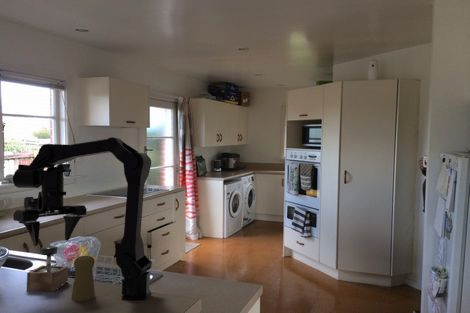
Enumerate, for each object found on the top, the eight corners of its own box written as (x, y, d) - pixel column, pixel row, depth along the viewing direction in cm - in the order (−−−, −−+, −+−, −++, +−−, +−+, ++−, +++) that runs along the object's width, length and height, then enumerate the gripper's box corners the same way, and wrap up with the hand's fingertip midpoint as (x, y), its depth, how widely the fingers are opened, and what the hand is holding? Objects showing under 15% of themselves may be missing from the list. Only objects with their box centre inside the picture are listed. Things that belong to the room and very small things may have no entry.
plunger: (62, 270, 112) (63, 246, 112) (52, 276, 106) (53, 250, 107) (44, 270, 112) (44, 245, 112) (33, 275, 107) (34, 249, 107)
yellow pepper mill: (86, 302, 97) (87, 259, 98) (66, 300, 98) (67, 258, 99) (99, 294, 103) (100, 254, 104) (80, 292, 104) (81, 253, 105)
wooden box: (67, 282, 113) (68, 266, 113) (54, 291, 105) (55, 273, 105) (41, 281, 113) (42, 265, 113) (26, 290, 105) (27, 272, 105)
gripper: (66, 186, 118) (65, 235, 118) (3, 188, 103) (2, 245, 102) (88, 187, 112) (87, 239, 112) (24, 190, 96) (23, 250, 96)
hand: (51, 243), depth 105 cm, fingers open, 9 cm apart
